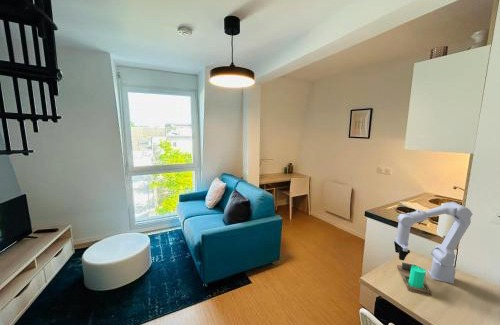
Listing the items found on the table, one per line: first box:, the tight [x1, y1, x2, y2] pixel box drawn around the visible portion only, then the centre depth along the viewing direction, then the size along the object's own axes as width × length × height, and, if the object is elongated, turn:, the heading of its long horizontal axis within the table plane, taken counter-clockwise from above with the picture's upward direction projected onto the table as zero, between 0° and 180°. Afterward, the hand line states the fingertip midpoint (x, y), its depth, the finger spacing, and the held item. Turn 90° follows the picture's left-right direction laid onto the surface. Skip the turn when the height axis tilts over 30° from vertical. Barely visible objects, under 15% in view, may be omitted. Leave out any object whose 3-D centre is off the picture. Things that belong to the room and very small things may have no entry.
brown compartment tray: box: [396, 261, 433, 297], centre depth 117 cm, size 20×10×5 cm, turn 159°
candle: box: [408, 264, 427, 289], centre depth 111 cm, size 6×6×12 cm
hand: (399, 256), depth 123 cm, fingers open, 7 cm apart
